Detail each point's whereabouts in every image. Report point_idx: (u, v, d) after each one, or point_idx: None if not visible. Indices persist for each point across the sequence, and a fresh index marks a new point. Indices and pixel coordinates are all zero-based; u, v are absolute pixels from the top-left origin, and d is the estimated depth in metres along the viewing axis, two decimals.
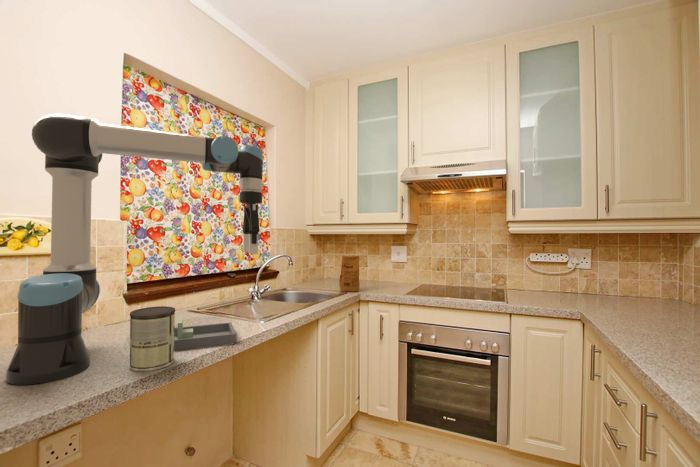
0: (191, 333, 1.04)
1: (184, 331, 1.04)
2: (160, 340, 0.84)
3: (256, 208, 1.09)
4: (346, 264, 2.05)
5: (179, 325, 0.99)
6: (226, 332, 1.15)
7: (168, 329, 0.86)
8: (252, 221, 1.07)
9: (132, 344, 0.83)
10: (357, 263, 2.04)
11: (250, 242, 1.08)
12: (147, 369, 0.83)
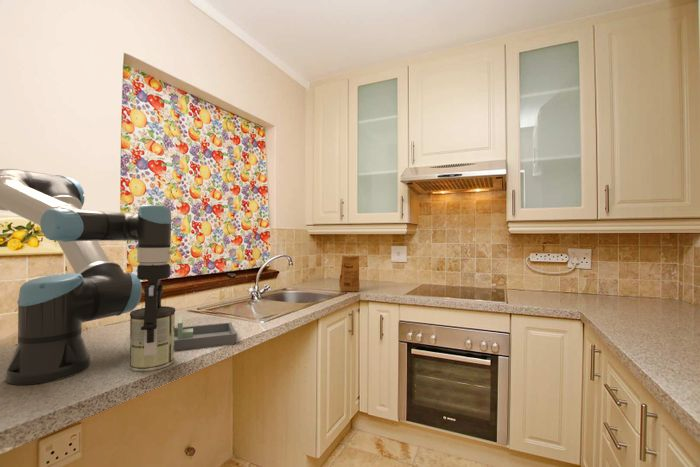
0: (191, 333, 1.04)
1: (184, 331, 1.04)
2: (160, 340, 0.84)
3: (154, 293, 0.82)
4: (346, 264, 2.05)
5: (179, 325, 0.99)
6: (226, 332, 1.15)
7: (168, 329, 0.86)
8: (146, 314, 0.80)
9: (132, 344, 0.83)
10: (357, 263, 2.04)
11: (145, 340, 0.82)
12: (147, 369, 0.83)
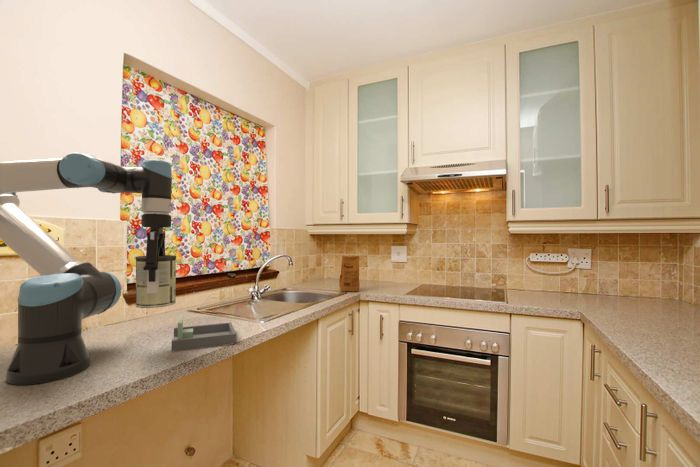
0: (191, 333, 1.04)
1: (184, 331, 1.04)
2: (161, 281, 0.93)
3: (155, 237, 0.91)
4: (346, 264, 2.05)
5: (179, 325, 0.99)
6: (226, 332, 1.15)
7: (169, 273, 0.95)
8: (147, 255, 0.89)
9: (137, 284, 0.92)
10: (357, 263, 2.04)
11: (148, 279, 0.91)
12: (150, 306, 0.92)
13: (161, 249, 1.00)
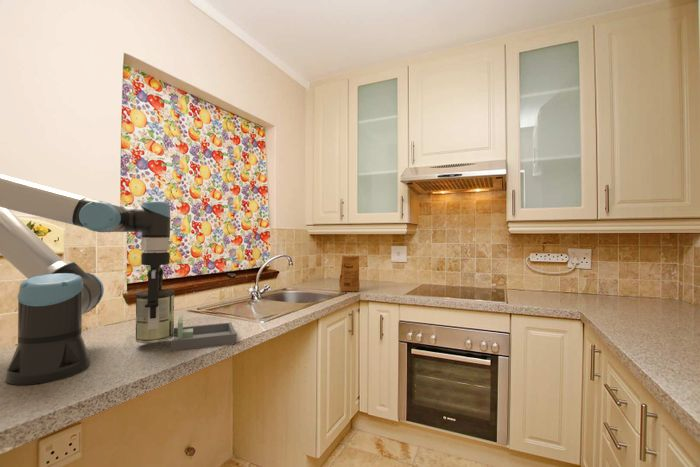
0: (191, 333, 1.04)
1: (184, 331, 1.04)
2: (161, 317, 0.98)
3: (156, 276, 0.96)
4: (346, 264, 2.05)
5: (179, 325, 0.99)
6: (226, 332, 1.15)
7: (168, 308, 1.00)
8: (149, 293, 0.94)
9: (138, 320, 0.97)
10: (357, 263, 2.04)
11: (149, 316, 0.96)
12: (150, 341, 0.97)
13: (159, 284, 1.04)
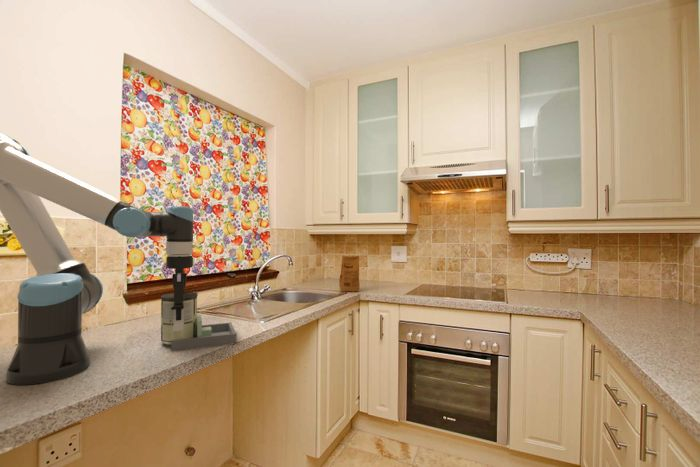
0: (210, 331, 1.06)
1: (202, 329, 1.06)
2: (186, 319, 1.01)
3: (181, 279, 0.99)
4: (346, 264, 2.05)
5: (199, 323, 1.01)
6: (226, 332, 1.15)
7: (192, 310, 1.03)
8: (175, 296, 0.97)
9: (163, 322, 1.00)
10: (357, 263, 2.04)
11: (174, 318, 0.99)
12: None
13: None
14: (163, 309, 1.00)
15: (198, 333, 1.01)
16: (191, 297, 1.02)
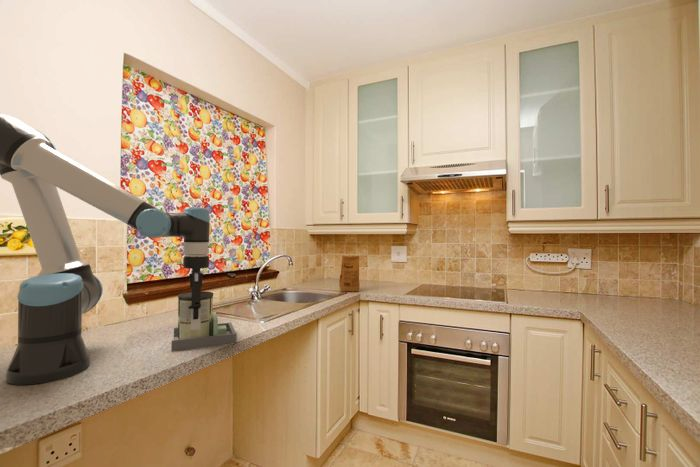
0: (225, 330, 1.08)
1: (218, 328, 1.08)
2: (202, 318, 1.03)
3: (199, 279, 1.01)
4: (346, 264, 2.05)
5: (215, 322, 1.03)
6: None
7: (209, 309, 1.05)
8: (193, 295, 0.99)
9: (180, 321, 1.02)
10: (357, 263, 2.04)
11: (191, 317, 1.01)
12: None
13: None
14: (180, 308, 1.02)
15: (214, 331, 1.03)
16: (207, 296, 1.04)
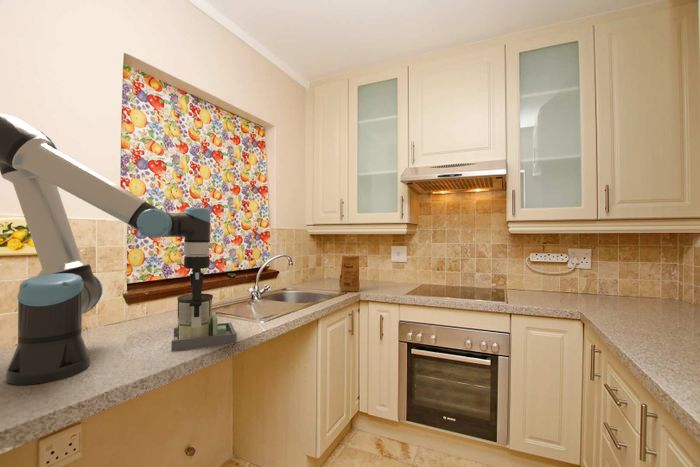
0: (224, 330, 1.08)
1: (217, 328, 1.08)
2: (202, 320, 1.03)
3: (199, 277, 1.01)
4: (346, 264, 2.05)
5: (214, 322, 1.03)
6: (226, 332, 1.15)
7: (208, 311, 1.05)
8: (194, 293, 0.98)
9: (180, 323, 1.02)
10: (357, 263, 2.04)
11: (192, 315, 0.99)
12: None
13: None
14: (180, 310, 1.02)
15: (214, 331, 1.03)
16: (207, 299, 1.04)
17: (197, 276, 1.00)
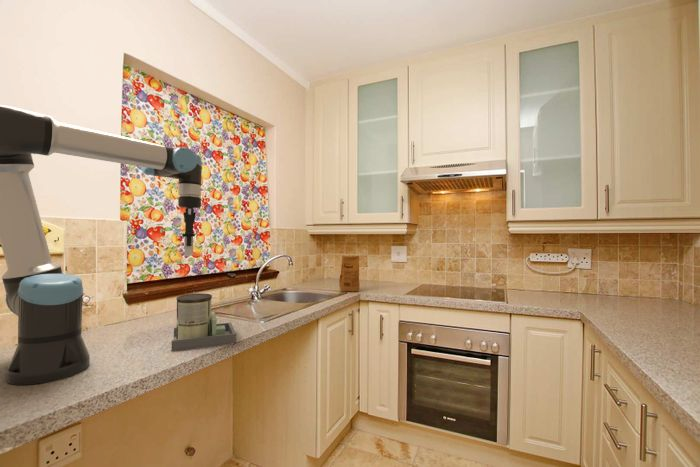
0: (223, 330, 1.08)
1: (216, 328, 1.08)
2: (201, 320, 1.03)
3: (191, 212, 1.16)
4: (346, 264, 2.05)
5: (214, 322, 1.03)
6: (226, 332, 1.15)
7: (207, 312, 1.05)
8: (186, 225, 1.13)
9: (179, 323, 1.02)
10: (357, 263, 2.04)
11: (185, 244, 1.15)
12: None
13: None
14: (179, 310, 1.02)
15: (213, 331, 1.03)
16: (206, 299, 1.04)
17: (189, 211, 1.16)
